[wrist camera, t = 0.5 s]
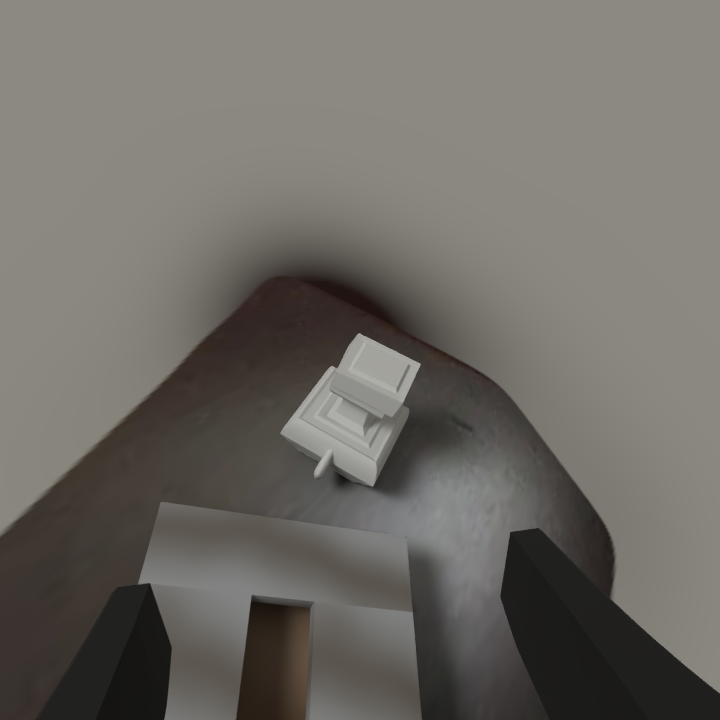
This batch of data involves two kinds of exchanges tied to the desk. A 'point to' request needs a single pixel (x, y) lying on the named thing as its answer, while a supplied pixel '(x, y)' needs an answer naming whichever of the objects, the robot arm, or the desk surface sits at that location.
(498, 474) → the desk surface
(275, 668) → the keyhole base
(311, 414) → the stamp
